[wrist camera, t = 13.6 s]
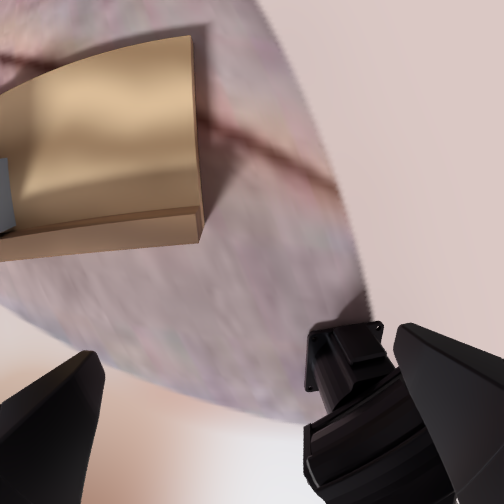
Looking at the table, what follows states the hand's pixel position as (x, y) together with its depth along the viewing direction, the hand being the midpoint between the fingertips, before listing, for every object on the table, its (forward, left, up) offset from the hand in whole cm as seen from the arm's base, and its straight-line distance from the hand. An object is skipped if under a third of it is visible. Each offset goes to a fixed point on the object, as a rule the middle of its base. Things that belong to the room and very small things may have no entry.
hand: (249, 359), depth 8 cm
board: (+7, +12, -12) cm, 18 cm away
